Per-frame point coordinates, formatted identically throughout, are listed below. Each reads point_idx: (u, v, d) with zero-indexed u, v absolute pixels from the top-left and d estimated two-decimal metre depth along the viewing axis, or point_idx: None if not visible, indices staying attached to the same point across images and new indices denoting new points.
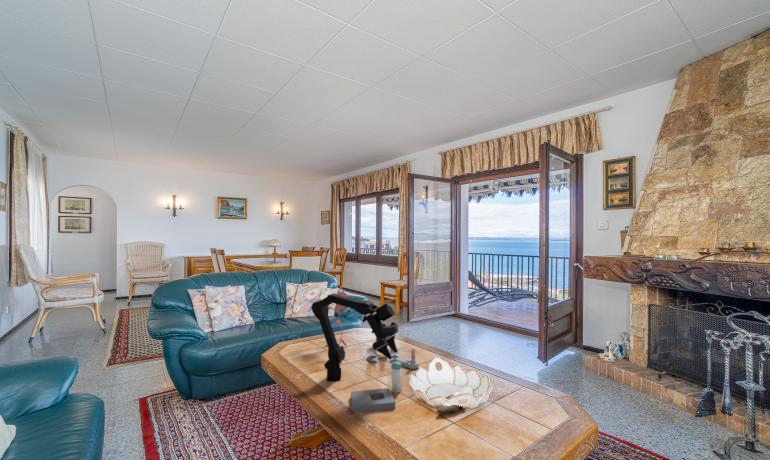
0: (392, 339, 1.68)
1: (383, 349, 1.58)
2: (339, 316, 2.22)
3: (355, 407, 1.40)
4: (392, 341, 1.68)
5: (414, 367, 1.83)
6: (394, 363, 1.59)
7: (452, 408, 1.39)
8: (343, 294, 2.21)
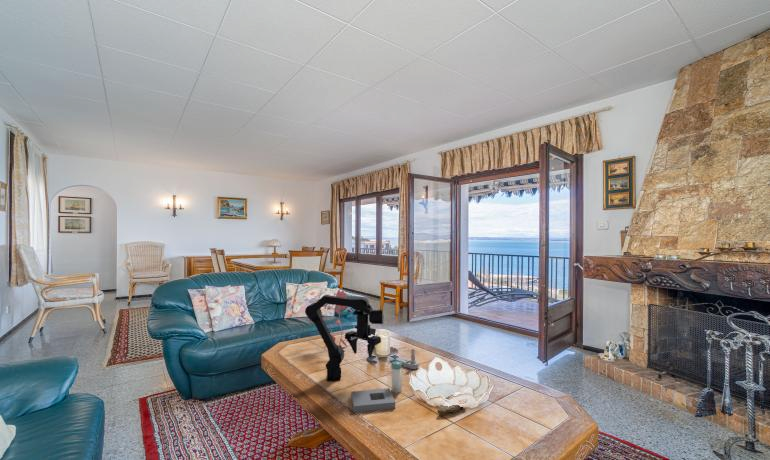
0: (356, 340, 1.75)
1: (371, 347, 1.67)
2: (339, 316, 2.22)
3: (355, 407, 1.40)
4: (355, 343, 1.74)
5: (414, 367, 1.83)
6: (394, 363, 1.59)
7: (452, 408, 1.38)
8: (343, 294, 2.21)
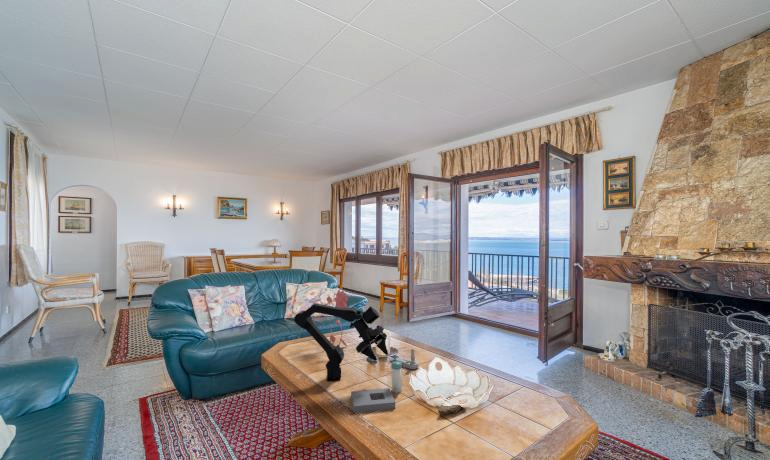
0: (382, 342, 1.70)
1: (368, 351, 1.61)
2: None
3: (355, 407, 1.40)
4: (383, 344, 1.69)
5: (413, 367, 1.83)
6: (394, 363, 1.59)
7: (453, 408, 1.38)
8: (343, 294, 2.21)
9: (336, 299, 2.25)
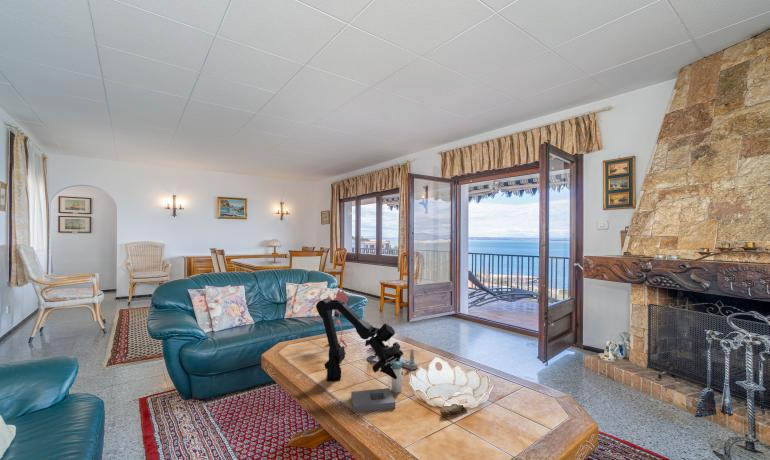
0: None
1: (387, 369, 1.58)
2: (339, 316, 2.22)
3: (355, 407, 1.40)
4: None
5: (412, 367, 1.83)
6: (394, 363, 1.59)
7: (455, 409, 1.38)
8: (343, 294, 2.21)
9: (336, 299, 2.25)
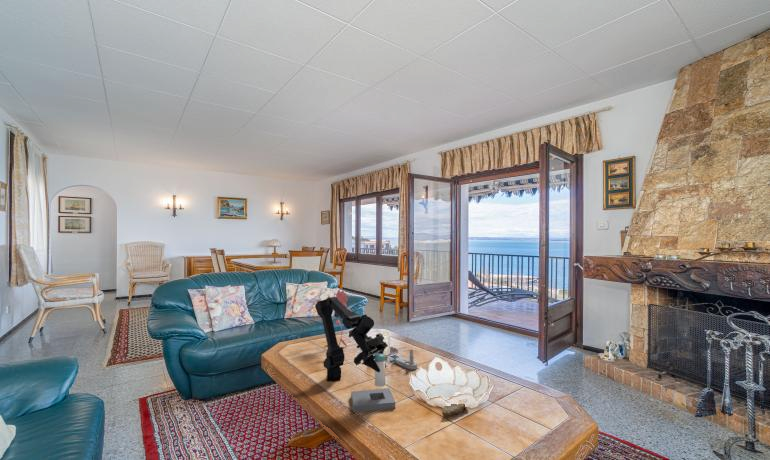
0: None
1: (370, 362, 1.48)
2: (339, 316, 2.22)
3: (355, 407, 1.40)
4: None
5: (412, 368, 1.82)
6: (377, 355, 1.49)
7: (456, 410, 1.37)
8: (343, 294, 2.21)
9: None
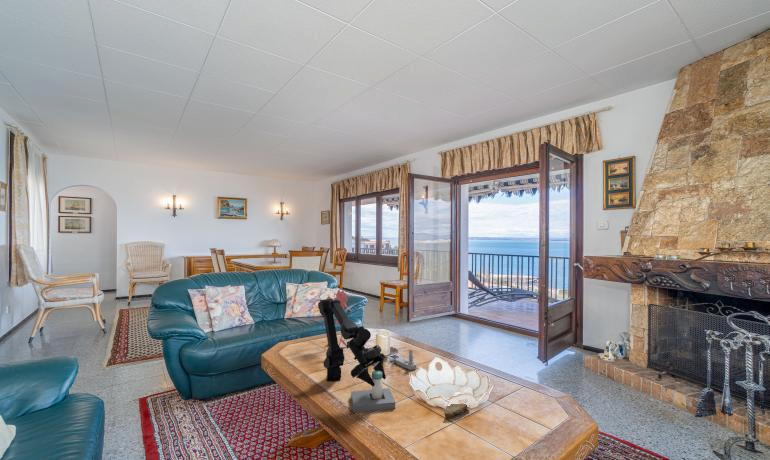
0: (379, 364, 1.53)
1: (364, 376, 1.46)
2: None
3: (355, 407, 1.40)
4: (380, 367, 1.53)
5: (411, 368, 1.82)
6: (374, 373, 1.48)
7: (458, 410, 1.37)
8: (343, 294, 2.21)
9: (336, 299, 2.25)
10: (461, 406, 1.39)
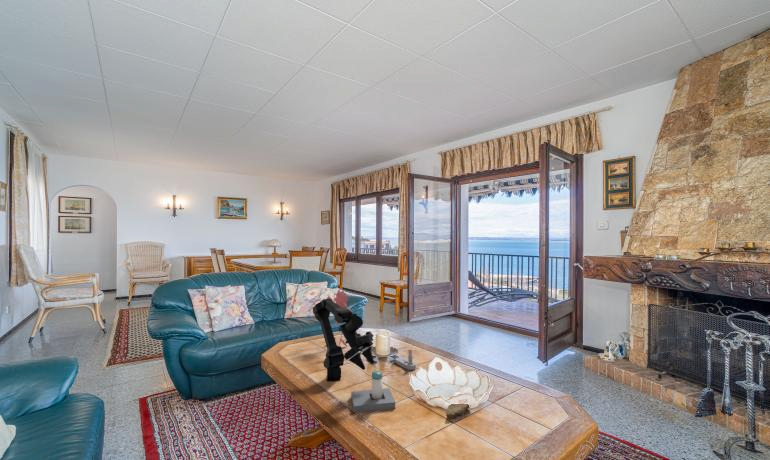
0: (368, 350, 1.61)
1: (356, 359, 1.51)
2: None
3: (355, 407, 1.40)
4: (369, 352, 1.60)
5: (410, 368, 1.82)
6: (374, 373, 1.48)
7: (460, 410, 1.36)
8: (343, 294, 2.21)
9: (336, 299, 2.25)
10: (462, 406, 1.39)
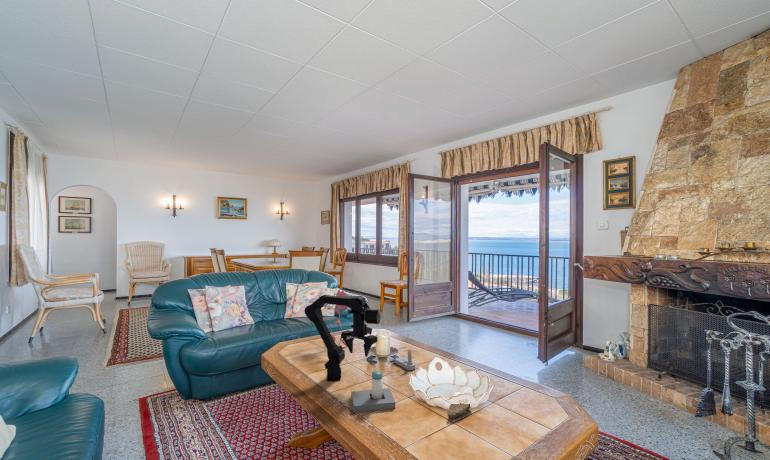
0: (352, 340, 1.73)
1: (367, 346, 1.65)
2: (339, 316, 2.22)
3: (355, 407, 1.40)
4: (352, 342, 1.72)
5: (409, 368, 1.82)
6: (374, 373, 1.48)
7: (461, 411, 1.36)
8: (343, 294, 2.21)
9: None
10: (463, 407, 1.38)
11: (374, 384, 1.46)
